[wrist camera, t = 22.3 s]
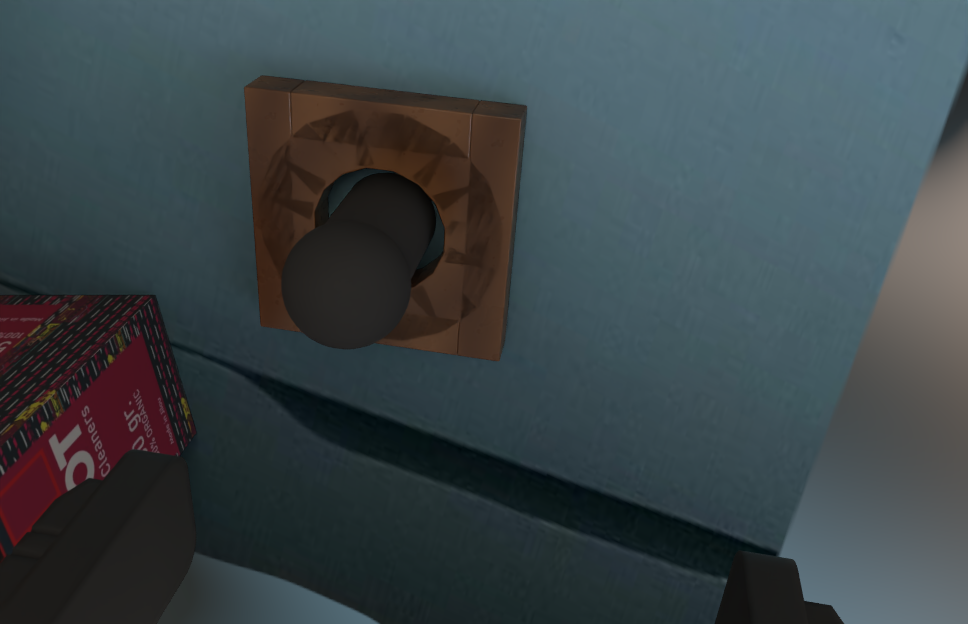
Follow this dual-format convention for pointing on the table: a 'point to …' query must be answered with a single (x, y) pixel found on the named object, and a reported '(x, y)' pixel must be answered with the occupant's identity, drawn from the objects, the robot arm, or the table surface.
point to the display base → (414, 155)
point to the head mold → (359, 263)
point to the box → (80, 396)
